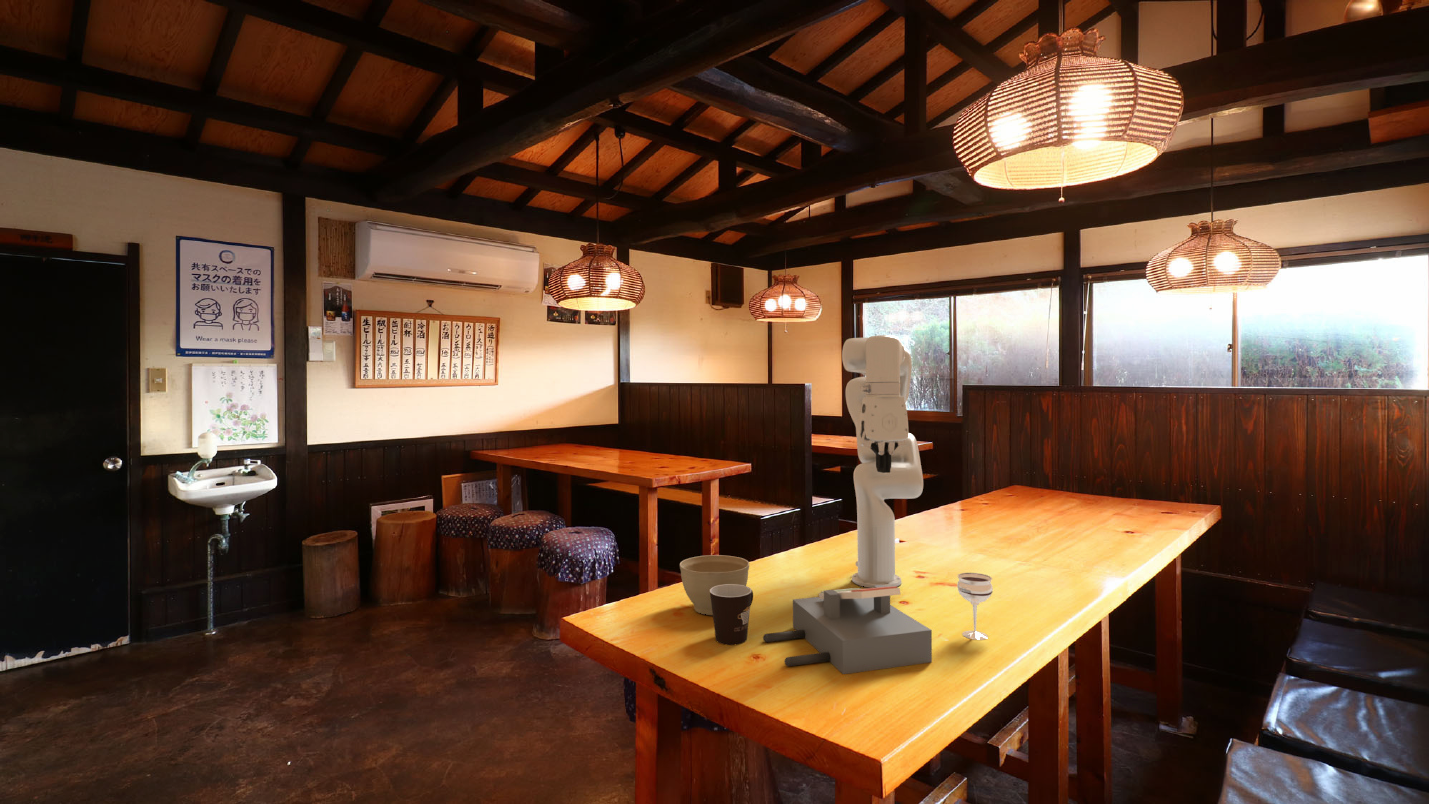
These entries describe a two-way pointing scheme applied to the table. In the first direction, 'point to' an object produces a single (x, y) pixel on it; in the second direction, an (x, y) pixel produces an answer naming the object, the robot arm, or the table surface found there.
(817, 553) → the table surface
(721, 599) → the coffee mug
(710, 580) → the planter bowl
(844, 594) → the breaker paddle
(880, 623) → the box
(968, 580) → the wineglass
